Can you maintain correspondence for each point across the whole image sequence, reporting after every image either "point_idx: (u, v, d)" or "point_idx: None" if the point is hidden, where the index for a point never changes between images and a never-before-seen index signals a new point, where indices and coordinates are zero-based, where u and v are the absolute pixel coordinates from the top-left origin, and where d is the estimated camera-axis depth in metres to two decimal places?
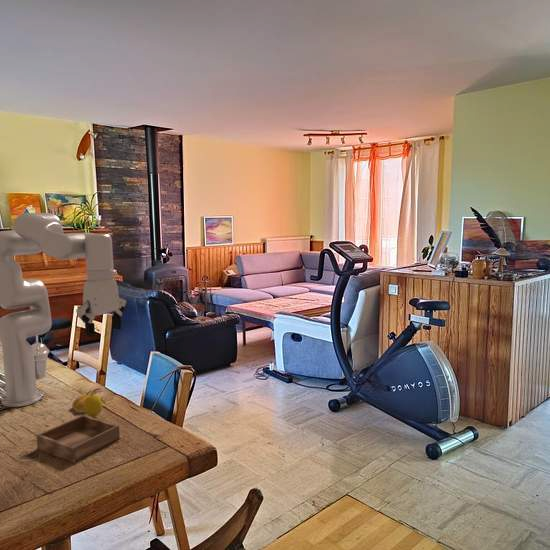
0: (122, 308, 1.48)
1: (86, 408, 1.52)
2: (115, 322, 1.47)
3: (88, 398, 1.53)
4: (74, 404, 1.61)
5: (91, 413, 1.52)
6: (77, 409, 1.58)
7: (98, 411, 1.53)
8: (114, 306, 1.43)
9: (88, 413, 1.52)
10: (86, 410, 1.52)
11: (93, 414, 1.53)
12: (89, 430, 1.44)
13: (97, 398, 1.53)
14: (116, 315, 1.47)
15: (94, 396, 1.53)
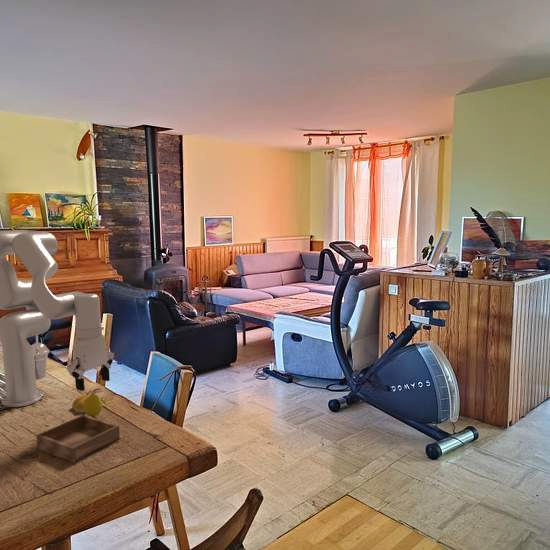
0: (110, 361, 1.58)
1: (86, 408, 1.52)
2: (104, 374, 1.57)
3: (88, 398, 1.53)
4: (74, 404, 1.61)
5: (91, 413, 1.52)
6: (77, 409, 1.59)
7: (98, 411, 1.53)
8: (102, 361, 1.53)
9: (88, 413, 1.52)
10: (86, 410, 1.52)
11: (93, 414, 1.53)
12: (89, 430, 1.44)
13: (97, 398, 1.53)
14: (105, 368, 1.57)
15: (94, 396, 1.53)
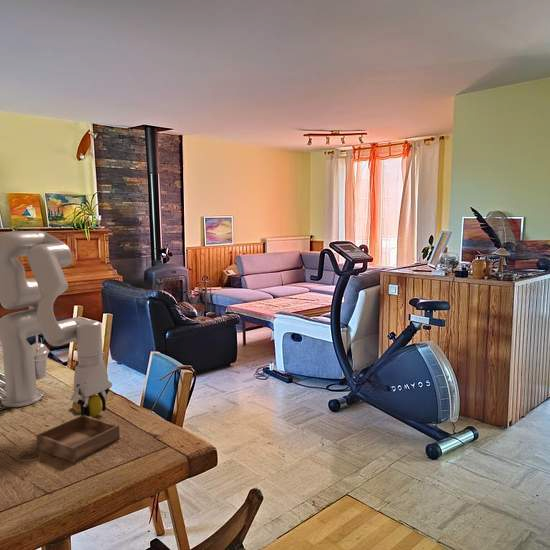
0: (107, 390, 1.58)
1: None
2: None
3: None
4: (74, 404, 1.61)
5: (91, 413, 1.52)
6: (77, 409, 1.59)
7: (98, 411, 1.53)
8: (103, 387, 1.55)
9: None
10: None
11: (93, 414, 1.53)
12: (89, 430, 1.44)
13: (97, 398, 1.53)
14: (101, 398, 1.57)
15: (94, 396, 1.53)
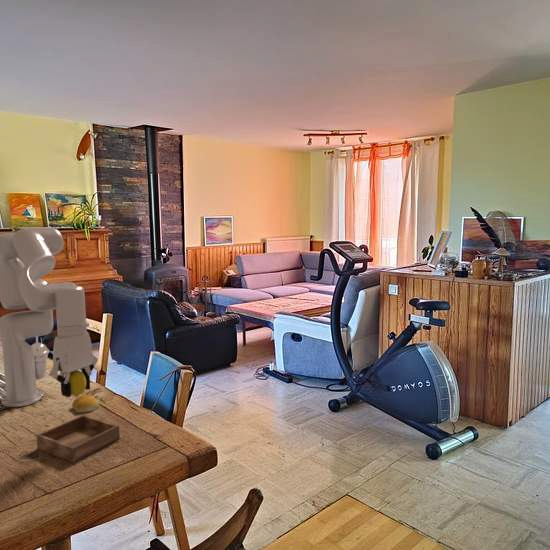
0: (91, 366, 1.39)
1: None
2: None
3: (70, 374, 1.34)
4: (74, 404, 1.61)
5: (73, 391, 1.33)
6: (77, 409, 1.59)
7: (81, 389, 1.34)
8: (87, 362, 1.36)
9: None
10: None
11: (75, 392, 1.34)
12: (89, 430, 1.44)
13: (80, 374, 1.34)
14: (85, 374, 1.38)
15: (77, 372, 1.34)
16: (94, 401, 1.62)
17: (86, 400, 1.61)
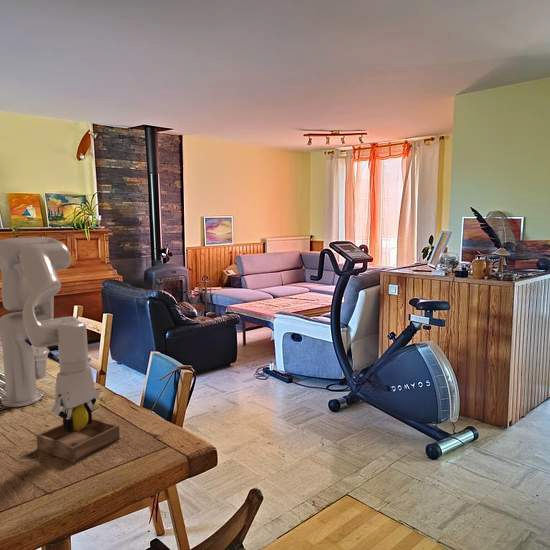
0: (93, 400, 1.40)
1: None
2: None
3: (72, 409, 1.35)
4: None
5: (75, 426, 1.34)
6: None
7: (83, 424, 1.35)
8: (89, 396, 1.37)
9: None
10: None
11: (78, 428, 1.35)
12: (89, 430, 1.44)
13: (82, 409, 1.35)
14: (87, 409, 1.39)
15: (79, 407, 1.35)
16: None
17: None
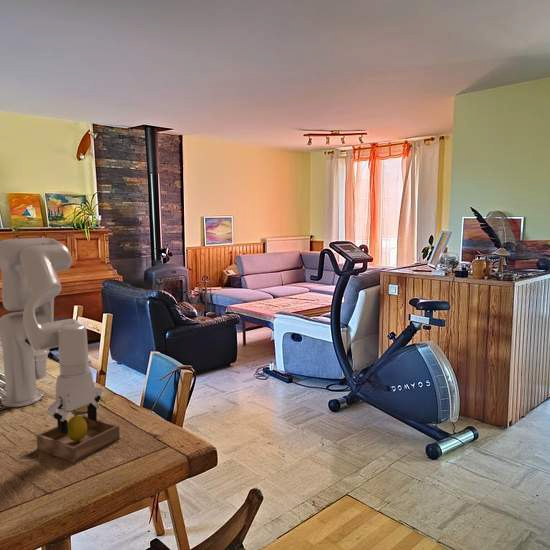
0: (98, 398, 1.41)
1: (69, 432, 1.34)
2: (90, 413, 1.40)
3: (71, 420, 1.35)
4: None
5: (75, 437, 1.34)
6: (77, 409, 1.59)
7: (83, 435, 1.36)
8: (89, 399, 1.37)
9: (71, 437, 1.35)
10: (69, 434, 1.34)
11: (77, 438, 1.35)
12: (89, 430, 1.44)
13: (81, 420, 1.36)
14: (91, 406, 1.40)
15: (78, 418, 1.36)
16: None
17: None
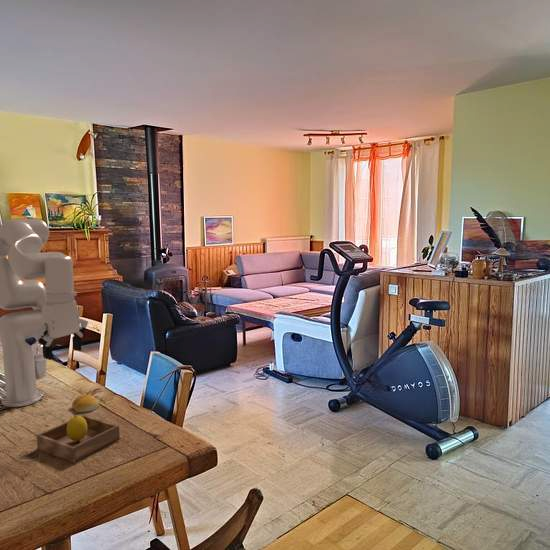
0: (83, 329, 1.46)
1: (69, 432, 1.34)
2: (75, 343, 1.46)
3: (71, 420, 1.35)
4: (74, 404, 1.61)
5: (75, 437, 1.35)
6: (77, 408, 1.59)
7: (83, 435, 1.36)
8: (74, 329, 1.42)
9: (71, 437, 1.35)
10: (69, 434, 1.34)
11: (77, 438, 1.35)
12: (89, 430, 1.44)
13: (81, 420, 1.36)
14: (76, 336, 1.45)
15: (78, 418, 1.36)
16: (94, 401, 1.62)
17: (86, 400, 1.61)
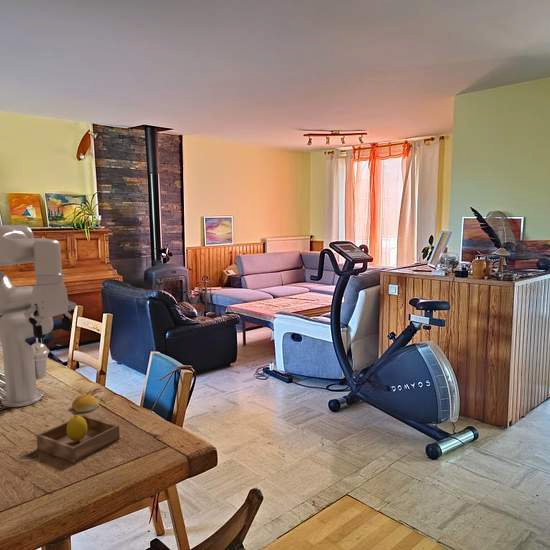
0: (72, 311, 1.54)
1: (69, 432, 1.34)
2: (65, 324, 1.53)
3: (71, 420, 1.35)
4: (74, 403, 1.61)
5: (75, 437, 1.35)
6: (77, 408, 1.59)
7: (83, 435, 1.36)
8: (63, 309, 1.49)
9: (71, 437, 1.35)
10: (69, 434, 1.34)
11: (77, 438, 1.35)
12: (89, 430, 1.44)
13: (81, 420, 1.36)
14: (66, 318, 1.53)
15: (78, 418, 1.36)
16: (94, 401, 1.62)
17: (86, 400, 1.61)
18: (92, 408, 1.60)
